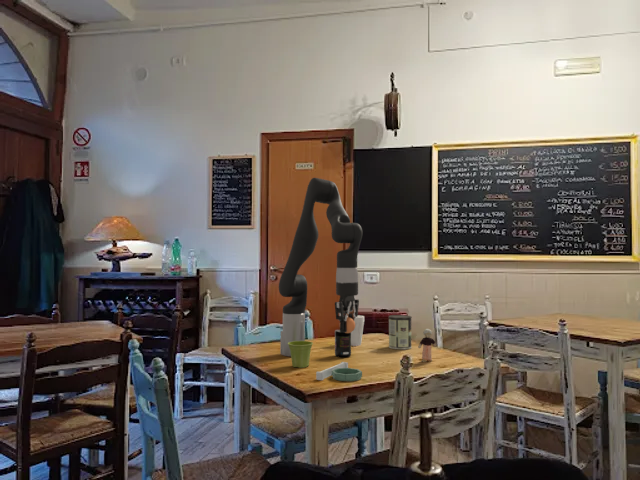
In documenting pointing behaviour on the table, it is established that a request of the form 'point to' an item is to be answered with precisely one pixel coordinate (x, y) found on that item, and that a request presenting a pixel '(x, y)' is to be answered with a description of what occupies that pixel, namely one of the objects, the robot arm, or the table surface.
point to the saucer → (346, 374)
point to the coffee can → (400, 332)
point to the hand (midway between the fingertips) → (347, 330)
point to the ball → (350, 325)
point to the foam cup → (357, 331)
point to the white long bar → (330, 371)
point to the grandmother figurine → (427, 346)
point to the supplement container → (342, 344)
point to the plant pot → (300, 353)
